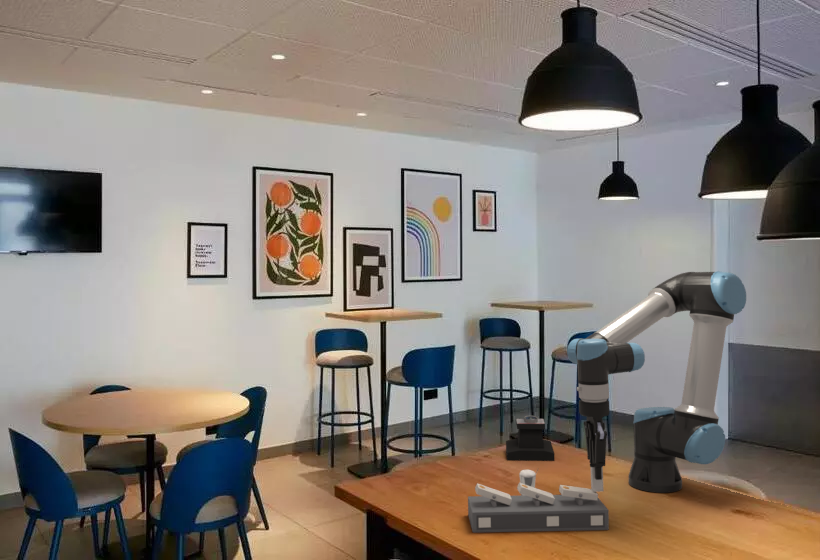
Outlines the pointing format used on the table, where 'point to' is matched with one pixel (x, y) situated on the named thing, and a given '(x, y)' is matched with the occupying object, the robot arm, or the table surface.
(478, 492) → the rocker
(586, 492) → the rocker
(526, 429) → the black pedestal stand
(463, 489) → the table surface
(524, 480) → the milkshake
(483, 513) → the console
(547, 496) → the rocker mid
